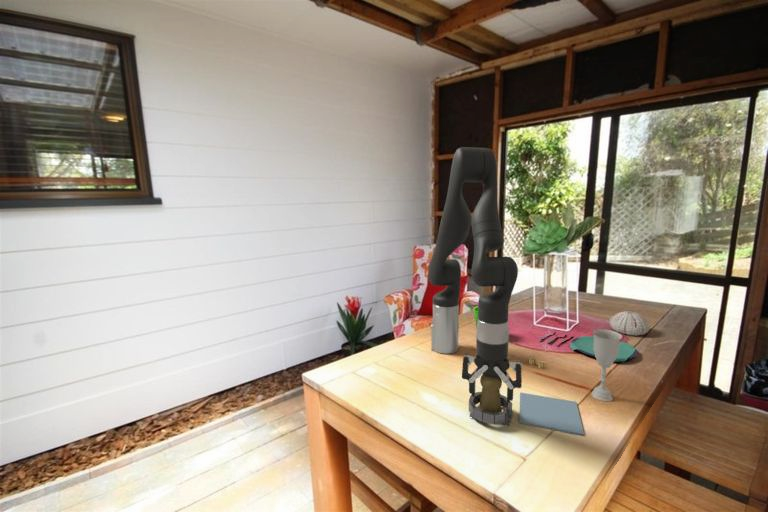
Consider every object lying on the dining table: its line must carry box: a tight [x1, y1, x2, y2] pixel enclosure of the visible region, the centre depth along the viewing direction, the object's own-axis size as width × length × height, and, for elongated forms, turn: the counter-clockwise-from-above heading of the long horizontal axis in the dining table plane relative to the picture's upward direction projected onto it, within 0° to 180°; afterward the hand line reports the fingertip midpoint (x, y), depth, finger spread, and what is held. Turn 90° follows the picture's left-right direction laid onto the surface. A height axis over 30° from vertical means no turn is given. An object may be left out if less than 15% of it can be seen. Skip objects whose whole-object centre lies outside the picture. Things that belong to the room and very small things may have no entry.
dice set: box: [528, 355, 545, 369], centre depth 118 cm, size 5×5×2 cm
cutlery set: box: [537, 332, 638, 363], centre depth 130 cm, size 20×30×2 cm, turn 42°
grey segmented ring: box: [468, 391, 513, 427], centre depth 91 cm, size 10×10×4 cm
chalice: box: [590, 328, 623, 402], centre depth 97 cm, size 7×7×18 cm
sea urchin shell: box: [609, 310, 650, 337], centre depth 143 cm, size 13×14×8 cm
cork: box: [478, 374, 503, 413], centre depth 90 cm, size 6×6×11 cm
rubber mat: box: [518, 392, 585, 437], centre depth 91 cm, size 14×14×1 cm
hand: (490, 397), depth 90 cm, fingers open, 8 cm apart
